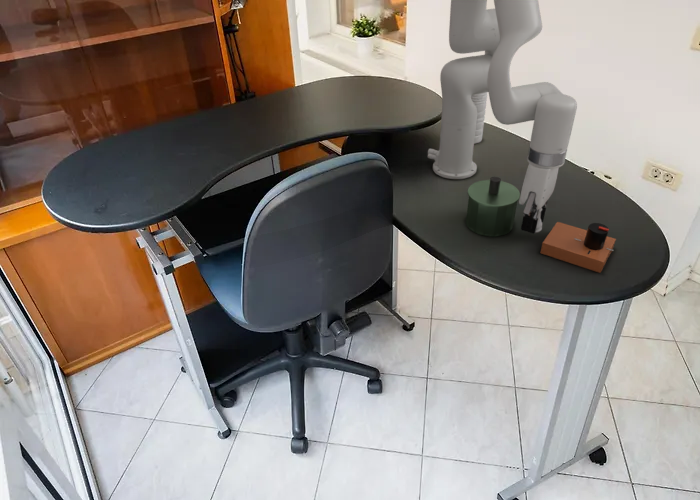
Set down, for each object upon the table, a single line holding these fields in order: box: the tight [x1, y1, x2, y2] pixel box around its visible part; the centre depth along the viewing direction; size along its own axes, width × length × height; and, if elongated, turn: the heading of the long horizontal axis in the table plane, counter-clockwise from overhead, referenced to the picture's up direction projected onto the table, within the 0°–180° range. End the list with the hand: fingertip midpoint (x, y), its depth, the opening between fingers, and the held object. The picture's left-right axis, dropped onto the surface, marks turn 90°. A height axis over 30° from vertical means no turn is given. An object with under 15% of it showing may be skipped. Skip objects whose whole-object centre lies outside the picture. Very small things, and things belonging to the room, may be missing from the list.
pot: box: [465, 196, 519, 238], centre depth 122 cm, size 11×11×8 cm
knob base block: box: [540, 221, 617, 274], centre depth 113 cm, size 14×10×3 cm
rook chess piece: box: [528, 203, 544, 234], centre depth 115 cm, size 4×4×8 cm
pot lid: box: [467, 176, 521, 207], centre depth 118 cm, size 12×12×5 cm
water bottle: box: [471, 92, 489, 145], centre depth 156 cm, size 9×6×25 cm
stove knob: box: [584, 222, 610, 250], centre depth 109 cm, size 4×4×5 cm
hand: (532, 225), depth 117 cm, fingers closed on rook chess piece, 4 cm apart
